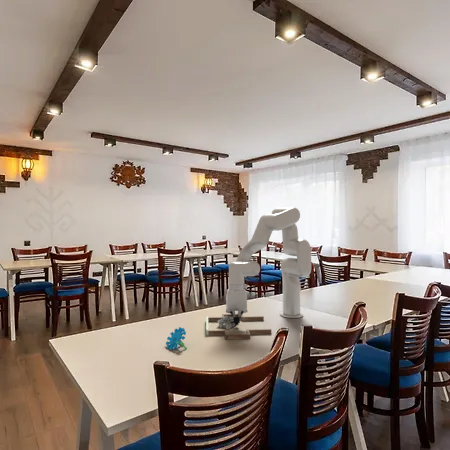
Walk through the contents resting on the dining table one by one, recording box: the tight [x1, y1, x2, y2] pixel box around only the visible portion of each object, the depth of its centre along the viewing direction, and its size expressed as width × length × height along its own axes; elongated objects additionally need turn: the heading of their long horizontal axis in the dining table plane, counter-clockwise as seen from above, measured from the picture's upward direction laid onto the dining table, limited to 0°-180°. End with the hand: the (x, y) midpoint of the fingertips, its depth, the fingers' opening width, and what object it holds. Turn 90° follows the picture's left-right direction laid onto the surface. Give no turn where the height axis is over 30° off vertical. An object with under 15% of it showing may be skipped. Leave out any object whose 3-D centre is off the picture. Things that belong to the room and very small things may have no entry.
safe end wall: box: [205, 316, 209, 337], centre depth 165 cm, size 22×1×2 cm, turn 3°
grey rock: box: [217, 316, 236, 330], centre depth 169 cm, size 11×8×4 cm
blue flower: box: [165, 326, 188, 351], centre depth 140 cm, size 11×6×10 cm
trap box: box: [207, 313, 272, 340], centre depth 165 cm, size 33×29×2 cm
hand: (236, 324), depth 165 cm, fingers closed
